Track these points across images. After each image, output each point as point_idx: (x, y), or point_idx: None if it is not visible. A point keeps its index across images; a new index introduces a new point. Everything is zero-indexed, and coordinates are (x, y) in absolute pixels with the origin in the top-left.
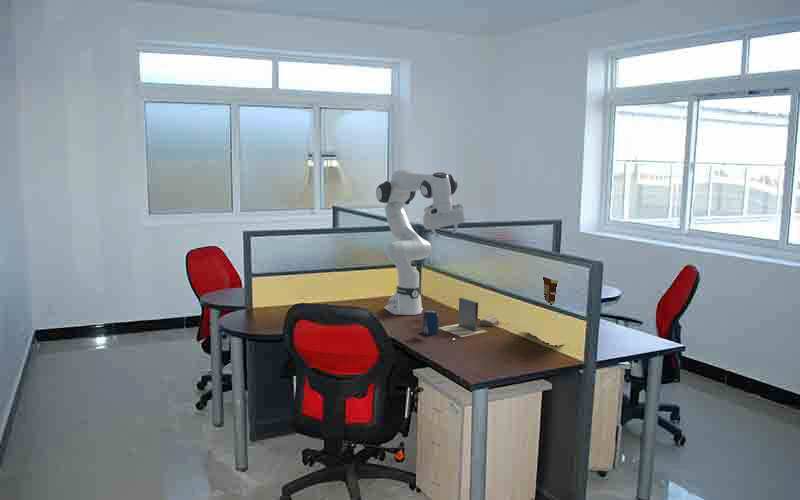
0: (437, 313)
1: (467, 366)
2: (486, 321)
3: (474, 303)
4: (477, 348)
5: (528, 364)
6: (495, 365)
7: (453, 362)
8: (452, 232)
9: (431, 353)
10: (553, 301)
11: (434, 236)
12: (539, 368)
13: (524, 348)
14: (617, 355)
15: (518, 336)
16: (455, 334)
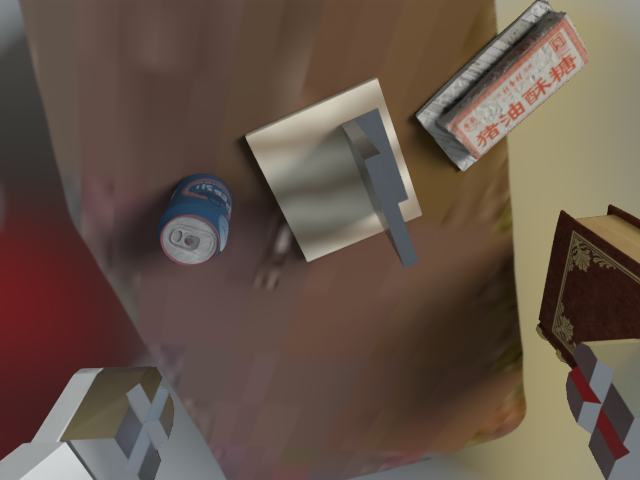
0: (221, 247)
1: (258, 439)
2: (460, 144)
3: (401, 260)
4: (328, 332)
5: (403, 436)
6: (326, 437)
7: (230, 417)
8: (585, 368)
9: (182, 358)
10: None
11: (86, 380)
12: (413, 455)
13: (457, 343)
14: None
15: (507, 241)
16: (293, 233)
